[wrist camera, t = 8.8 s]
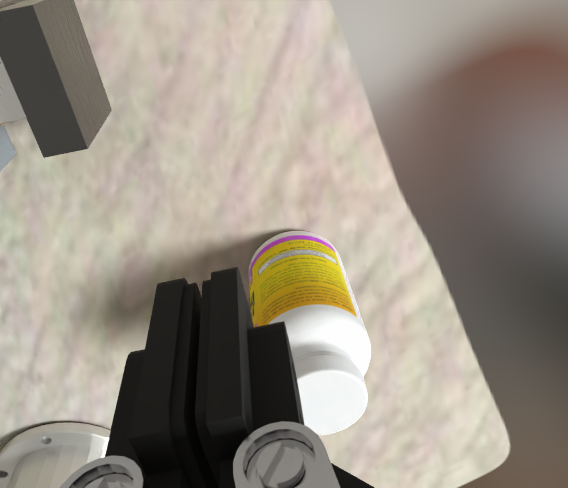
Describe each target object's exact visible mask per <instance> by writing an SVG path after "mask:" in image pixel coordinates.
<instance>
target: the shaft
mask: <svg viewBox="0 0 568 488" xmlns="http://www.w3.org/2000/svg"><path fill="white" fill-rule="evenodd" d="M111 111H112V110H111V107H110V104H109V101H108V98H107V95H106V92H105V89H104V87H103V84H102V81H101V78H100V75H99V72H98V69H97V66H96V63H95V61H94V58H93V55H92V52H91V49H90V46H89V43H88V40H87V37H86V35H85V32H84V29H83V26H82V23H81V20H80V17H79V14H78V12H77V9H76V6H75V3H74V0H24V1H21V2H18V3H15V4H12V5H10V6H7V7H4V8H1V9H0V126H1V125H2V124H3V123H5V122H10V121H15V120H20V119H25V118H27V120H28V122H29V125H30V127H31V129H32V131H33V134H34V136H35V138H36V141H37V143H38V145H39V148H40V150H41V152H42V155H43V157H44V158H45V157H50V156H55V155H59V154H64V153H69V152H74V151H79V150H84V149H88V148H89V146H90V144H91V143H92V141H93V139H94V138H95V136H96V135H97V133H98V131H99V130H100V128H101V127H102V125H103V123H104V122H105V120H106V119H107V117H108V115H109V114H110V112H111Z"/></svg>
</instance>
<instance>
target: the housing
mask: <svg viewBox="0 0 568 488" xmlns="http://www.w3.org/2000/svg"><path fill="white" fill-rule="evenodd" d="M15 155H16V152H15V149H14V147H13V145H12V143H11V141H10V139H9V136H8V134H7V132H6V130H5V128H4V125H3V124H2V125H1V126H0V171H1V170H2V169H3V168H4V167H5V166H6V165H7V164H8V163H9V162H10V160H11V159H12V158H13V157H14V156H15Z"/></svg>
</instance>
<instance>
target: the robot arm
mask: <svg viewBox="0 0 568 488" xmlns="http://www.w3.org/2000/svg"><path fill="white" fill-rule="evenodd" d="M0 488H374V487H373V486H371V485H369V484H367V483H365V482H364V481H362V480H360V479H358V478H357V477H355V476H353V475H351V474H350V473H348V472H346V471H344V470H342V469H341V468H339V467H337V466H335V465H334V464H332V463H331V462H330V460H329V457H328V455H327V452H326V449H325V447H324V444H323V443H322V441H321V439H320V438H319V436H318V435H317V434H316V433H315V432H314V431H313V430H311V429H310V428H309V427H307V426H305V424H304V418H303V412H302V406H301V400H300V394H299V388H298V382H297V377H296V371H295V366H294V361H293V356H292V352H291V347H290V343H289V338H288V334H287V329H286V325H285V322H284V321H282V322H277V323H273V324H268V325H263V326H258V327H254V325H253V321H252V317H251V313H250V310H249V306H248V302H247V298H246V294H245V291H244V287H243V283H242V279H241V276H240V272H239V269H238V268H237V267H236V268H231V269H226V270H221V271H217V272H212V273H211V280H207V281H203V284H202V298H201V295H200V291H199V288H198V286H197V284H196V283H192V284H188V283H187V281H186V279H185V278H182V279H177V280H172V281H167V282H162V283H159V284H158V285H157V289H156V294H155V299H154V305H153V310H152V315H151V321H150V326H149V331H148V337H147V342H146V347H145V349H144V350H139V351H134V352H131V353H130V354H129V355H128V358H127V360H126V365H125V369H124V374H123V378H122V383H121V387H120V391H119V396H118V400H117V405H116V409H115V414H114V418H113V422H112V427H111V430H108V429H105V428H103V427H99V426H94V425H90V424H83V423H54V424H48V425H42V426H39V427H35V428H32V429H29V430H27V431H25V432H23V433H21V434H19V435H17V436H15V437H14V438H13V439H12V440H10V441H9V442H8V443H7V444H6V445H5V446H4V448H3V449H2V450H1V451H0Z"/></svg>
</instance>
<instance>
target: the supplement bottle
mask: <svg viewBox="0 0 568 488" xmlns="http://www.w3.org/2000/svg"><path fill="white" fill-rule="evenodd" d="M248 278H249V293H250V304H251V317H252V321H253V325H254V327H258V326H263V325H268V324H273V323H277V322H282V321H284V322H285V325H286V329H287V334H288V338H289V343H290V347H291V352H292V356H293V361H294V366H295V371H296V377H297V382H298V388H299V394H300V400H301V406H302V412H303V418H304V424H305V426H307V427H309V428H310V429H311V430H313V431H314V432H315V433H316V434H317V435H328V434H333V433H336V432H339V431H341V430H344V429H346V428H347V427H349V426H351V425H352V424H353V423H355V422H356V421H357V420H358V419H359V418H360V417H361V415H362V414H363V413H364V411H365V409H366V406H367V402H368V394H367V389H366V386H365V382H364V378H363V376H364V375H365V373H366V371H367V369H368V366H369V362H370V357H371V345H370V340H369V337H368V334H367V331H366V329H365V326H364V323H363V320H362V318H361V315H360V312H359V309H358V306H357V303H356V301H355V298H354V295H353V292H352V289H351V286H350V284H349V281H348V278H347V275H346V272H345V269H344V267H343V264H342V261H341V258H340V256H339V254H338V252H337V250H336V249H335V247H334V246H333V245H332V244H331V243H330V242H329V241H328V240H326V239H325V238H323V237H322V236H320V235H317V234H315V233H312V232H307V231H289V232H284V233H281V234H278V235H276V236H274V237H272V238H270V239H269V240H267V241H266V242H265V243H263V244H262V245H261V246H260V247H259V248H258V250H257V251H256V252H255V254H254V256H253V257H252V260H251V262H250V265H249V273H248Z"/></svg>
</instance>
